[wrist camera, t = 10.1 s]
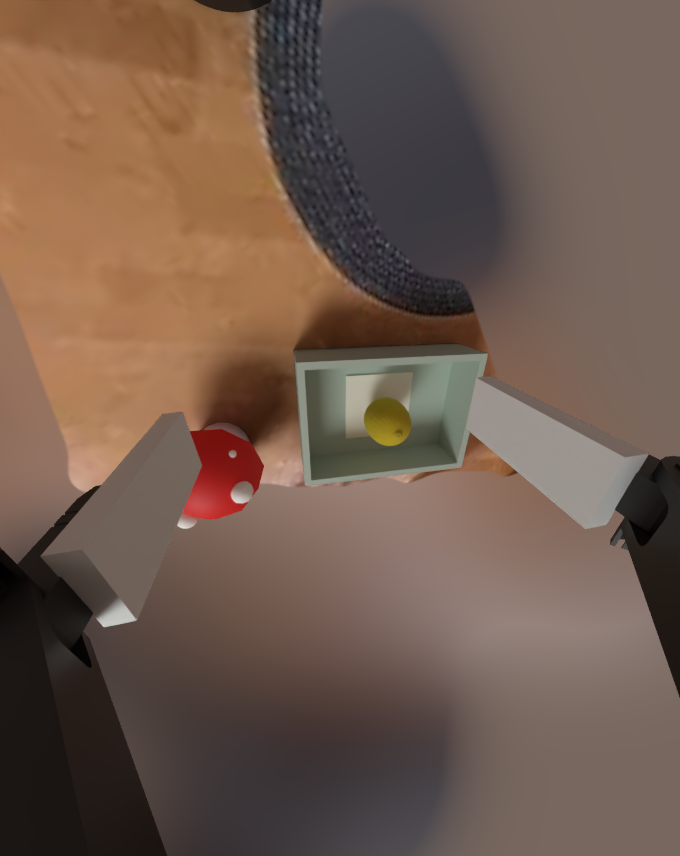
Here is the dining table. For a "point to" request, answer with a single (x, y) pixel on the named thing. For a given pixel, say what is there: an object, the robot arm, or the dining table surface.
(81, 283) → the dining table surface
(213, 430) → the mushroom
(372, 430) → the lemon
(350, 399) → the crate
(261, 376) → the dining table surface
